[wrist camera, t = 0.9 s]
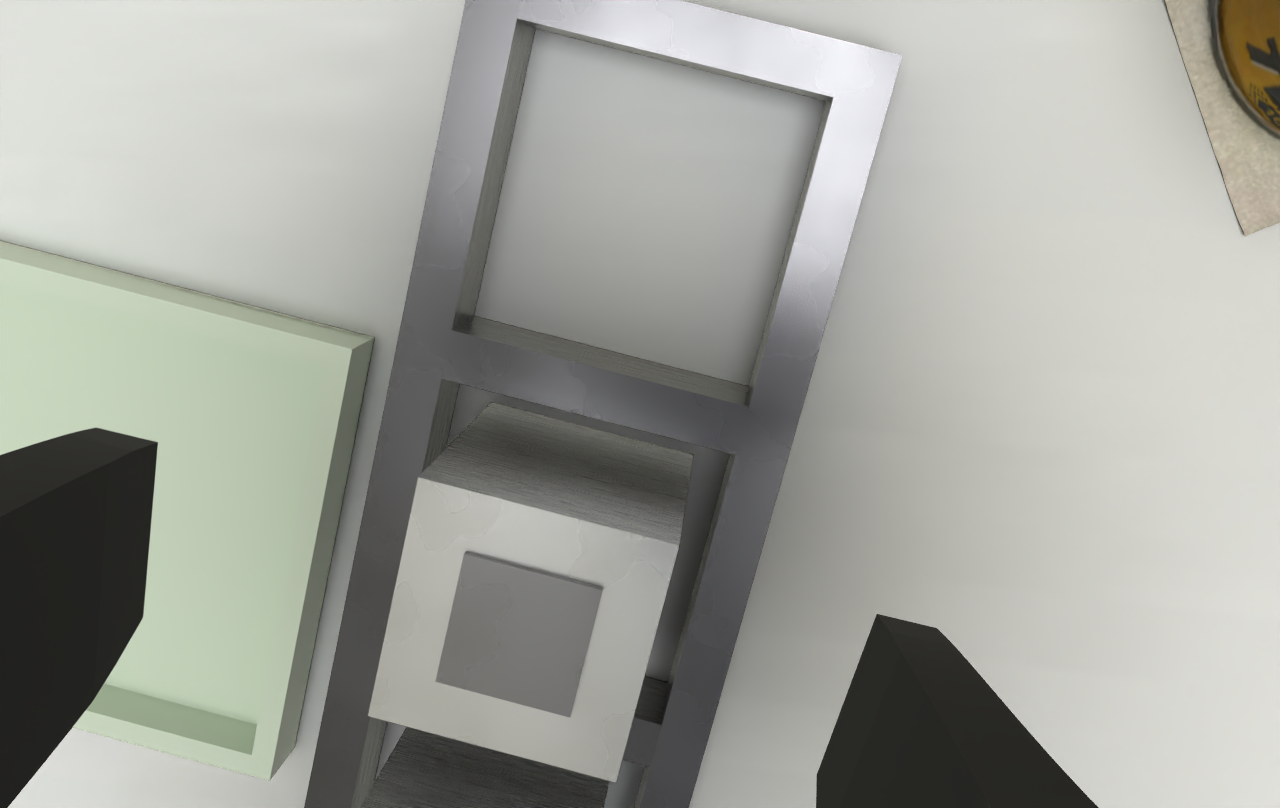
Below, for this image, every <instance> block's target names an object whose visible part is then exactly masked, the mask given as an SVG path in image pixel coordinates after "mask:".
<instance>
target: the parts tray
mask: <svg viewBox="0 0 1280 808" xmlns="http://www.w3.org/2000/svg"><path fill="white" fill-rule="evenodd" d="M373 343H374V337H370V336H367V335H363V334H359V333H355V332H351V331H347V330H343V329H340V328H336V327H332V326H328V325H324V324H320V323H316V322H312V321H309V320H305V319H301V318H297V317H293V316H289V315H285V314H282V313H278V312H274V311H270V310H266V309H262V308H258V307H254V306H251V305H247V304H243V303H239V302H235V301H231V300H227V299H224V298H220V297H216V296H212V295H208V294H204V293H200V292H196V291H193V290H189V289H185V288H181V287H177V286H173V285H169V284H166V283H162V282H158V281H154V280H150V279H146V278H142V277H138V276H135V275H131V274H127V273H123V272H119V271H115V270H111V269H107V268H104V267H100V266H96V265H92V264H88V263H84V262H80V261H77V260H73V259H69V258H65V257H61V256H57V255H53V254H49V253H46V252H42V251H38V250H34V249H30V248H26V247H22V246H19V245H15V244H11V243H7V242H3V241H0V455H2V454H5V453H8V452H11V451H14V450H17V449H20V448H24V447H27V446H30V445H33V444H36V443H39V442H43V441H46V440H49V439H52V438H56V437H59V436H63V435H66V434H70V433H74V432H77V431H82V430H87V429H91V428H100V429H105V430H109V431H113V432H117V433H121V434H126V435H130V436H134V437H138V438H142V439H146V440H151V441H155V442H158V448H157V460H156V472H155V484H154V495H153V507H152V519H151V531H150V543H149V555H148V567H147V578H146V590H145V602H144V614H143V619H142V620H141V622H140V624H139V626H138V627H137V629H136V631H135V633H134V634H133V636H132V638H131V639H130V641H129V643H128V645H127V646H126V648H125V650H124V651H123V653H122V655H121V657H120V658H119V660H118V662H117V663H116V665H115V667H114V668H113V670H112V672H111V673H110V675H109V676H108V678H107V680H106V681H105V683H104V684H103V686H102V688H101V689H100V691H99V692H98V694H97V696H96V697H95V699H94V700H93V702H92V703H91V704H90V706H89V707H88V708H87V709H86V711H85V712H84V713H83V715H82V716H81V717H80V718H79V720H78V721H77V722H76V723H75V725H74V726H73V727H72V728H76V729H80V730H83V731H87V732H91V733H94V734H98V735H102V736H106V737H109V738H113V739H117V740H120V741H124V742H128V743H131V744H135V745H139V746H143V747H146V748H150V749H154V750H157V751H161V752H165V753H168V754H172V755H176V756H180V757H183V758H187V759H191V760H194V761H198V762H202V763H205V764H209V765H213V766H217V767H220V768H224V769H228V770H231V771H235V772H239V773H242V774H246V775H250V776H253V777H257V778H261V779H265V780H268V781H270V780H271V778H272V777H273V776H274V774H275V773H276V772H277V770H278V769H279V768H280V766H281V765H282V764H283V762H284V761H285V759H286V758H287V757H288V755H289V754H290V753H291V751H292V750H293V749H294V747H295V742H296V737H297V732H298V727H299V721H300V716H301V711H302V706H303V701H304V696H305V691H306V686H307V681H308V675H309V670H310V665H311V660H312V655H313V650H314V645H315V640H316V634H317V629H318V624H319V619H320V614H321V609H322V604H323V599H324V593H325V588H326V583H327V578H328V573H329V568H330V563H331V558H332V552H333V547H334V542H335V537H336V532H337V527H338V522H339V517H340V512H341V506H342V501H343V496H344V491H345V486H346V481H347V476H348V471H349V465H350V460H351V455H352V450H353V445H354V440H355V435H356V430H357V424H358V419H359V414H360V409H361V404H362V399H363V394H364V389H365V383H366V378H367V373H368V368H369V363H370V358H371V353H372V348H373Z"/></svg>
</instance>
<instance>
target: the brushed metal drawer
mask: <svg viewBox="0 0 1280 808" xmlns="http://www.w3.org/2000/svg"><path fill="white" fill-rule="evenodd" d="M608 784H609V781H608V780H605V779H601V778H597V777H593V776H590V775H586V774H582V773H578V772H575V771H571V770H567V769H564V768H560V767H556V766H552V765H549V764H545V763H541V762H537V761H534V760H530V759H526V758H523V757H519V756H515V755H511V754H508V753H504V752H500V751H496V750H493V749H489V748H485V747H482V746H478V745H474V744H470V743H467V742H463V741H459V740H455V739H452V738H448V737H444V736H441V735H437V734H433V733H429V732H426V731H422V730H418V729H414V728H411V727H406V729H405V731H404V732H403V734H402V736H401V738H400V739H399V741H398V743H397V745H396V746H395V748H394V750H393V752H392V753H391V755H390V757H389V758H388V760H387V762H386V764H385V765H384V767H383V769H382V771H381V772H380V774H379V776H378V778H377V779H376V781H375V783H374V785H373V786H372V788H371V790H370V791H369V793H368V795H367V797H366V798H365V800H364V802H363V804H362V805H361V807H360V808H604V804H605V799H606V794H607V789H608Z"/></svg>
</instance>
